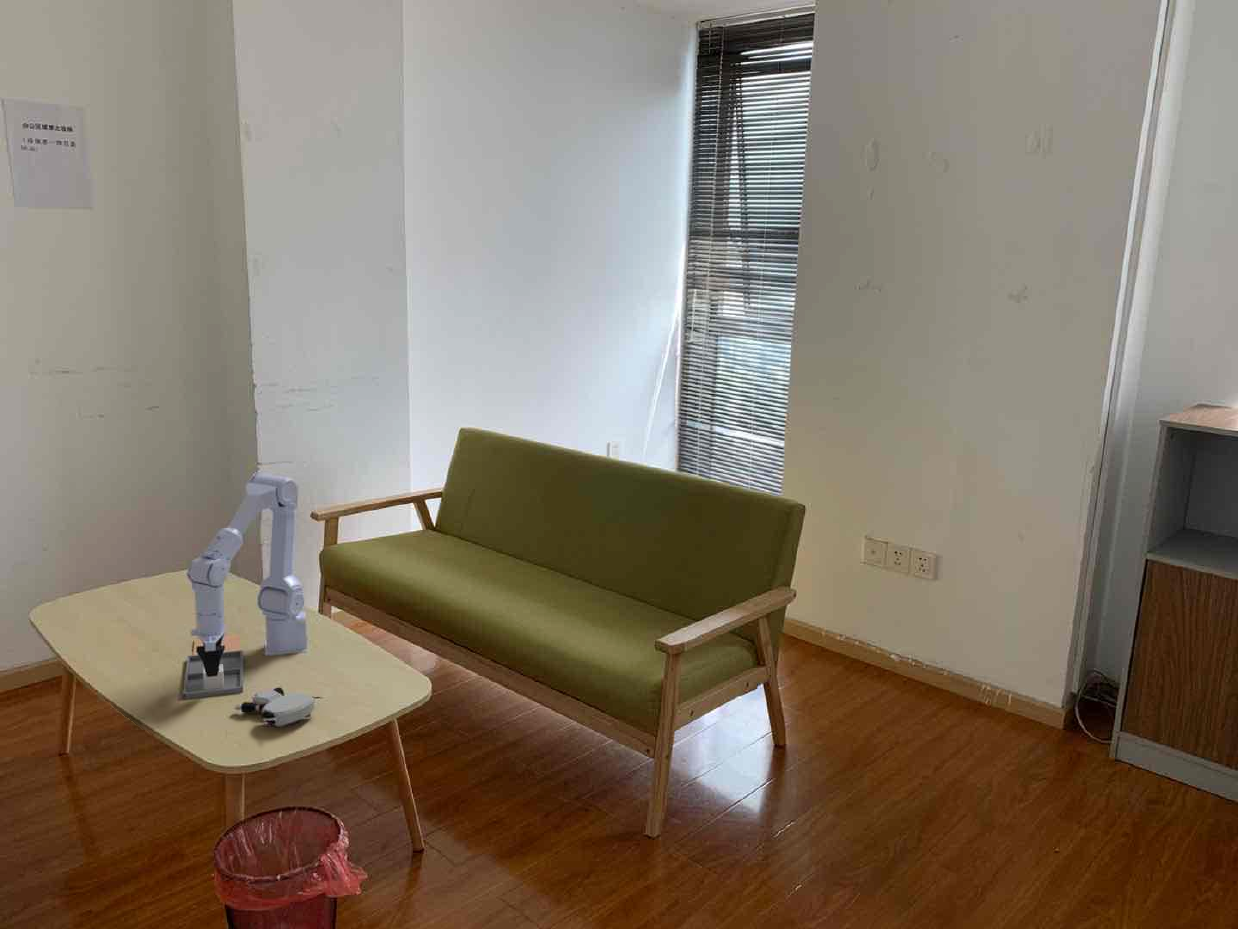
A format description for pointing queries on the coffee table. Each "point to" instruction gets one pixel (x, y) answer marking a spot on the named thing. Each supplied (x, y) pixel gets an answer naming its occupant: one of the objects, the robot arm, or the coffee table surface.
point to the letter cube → (214, 680)
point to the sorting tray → (230, 669)
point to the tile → (222, 643)
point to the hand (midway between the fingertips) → (212, 668)
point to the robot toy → (280, 706)
